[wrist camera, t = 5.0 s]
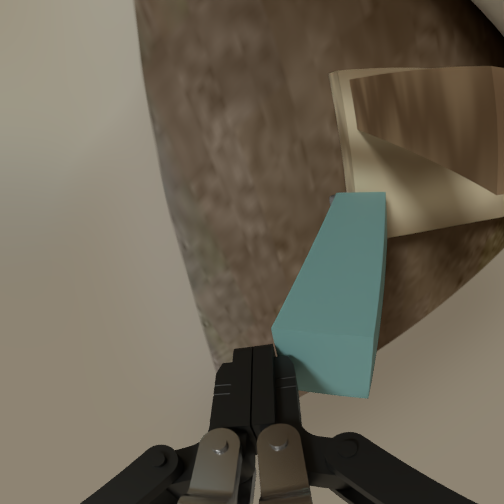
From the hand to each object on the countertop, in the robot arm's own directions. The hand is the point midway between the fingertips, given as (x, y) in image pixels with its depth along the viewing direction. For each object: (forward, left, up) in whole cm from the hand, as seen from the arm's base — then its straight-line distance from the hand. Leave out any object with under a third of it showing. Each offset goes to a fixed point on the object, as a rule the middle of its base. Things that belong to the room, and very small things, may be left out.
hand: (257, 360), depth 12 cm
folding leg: (0, +8, -13) cm, 15 cm away
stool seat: (-4, +17, -16) cm, 24 cm away
